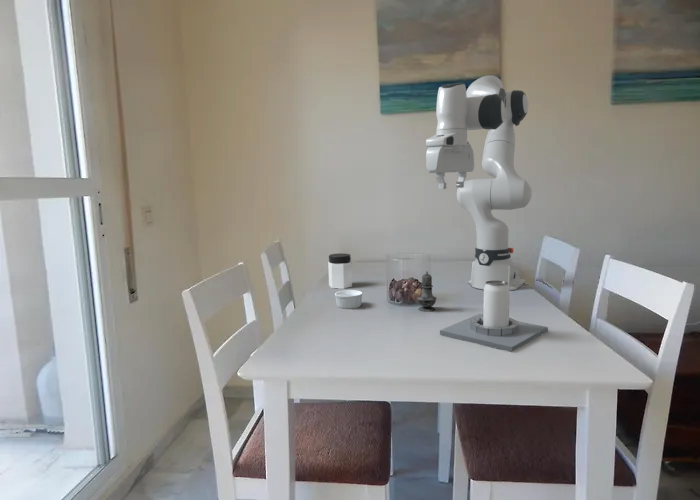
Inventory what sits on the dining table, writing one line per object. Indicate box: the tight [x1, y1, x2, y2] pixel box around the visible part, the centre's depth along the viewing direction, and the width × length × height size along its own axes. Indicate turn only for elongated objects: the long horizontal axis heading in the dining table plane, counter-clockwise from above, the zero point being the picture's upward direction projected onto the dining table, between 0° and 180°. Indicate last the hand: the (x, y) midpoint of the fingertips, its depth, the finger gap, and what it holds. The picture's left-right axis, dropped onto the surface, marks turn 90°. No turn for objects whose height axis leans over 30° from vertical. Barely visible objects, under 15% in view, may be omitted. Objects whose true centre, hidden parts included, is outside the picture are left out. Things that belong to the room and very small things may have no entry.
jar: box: [327, 253, 353, 290], centre depth 190 cm, size 9×8×12 cm
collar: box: [470, 316, 519, 336], centre depth 132 cm, size 12×12×2 cm
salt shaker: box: [417, 271, 437, 313], centre depth 156 cm, size 6×6×12 cm
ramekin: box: [334, 289, 363, 310], centre depth 163 cm, size 9×9×4 cm
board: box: [439, 313, 549, 353], centre depth 132 cm, size 20×20×1 cm
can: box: [482, 280, 511, 327], centre depth 132 cm, size 6×6×12 cm
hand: (451, 188), depth 149 cm, fingers open, 8 cm apart
